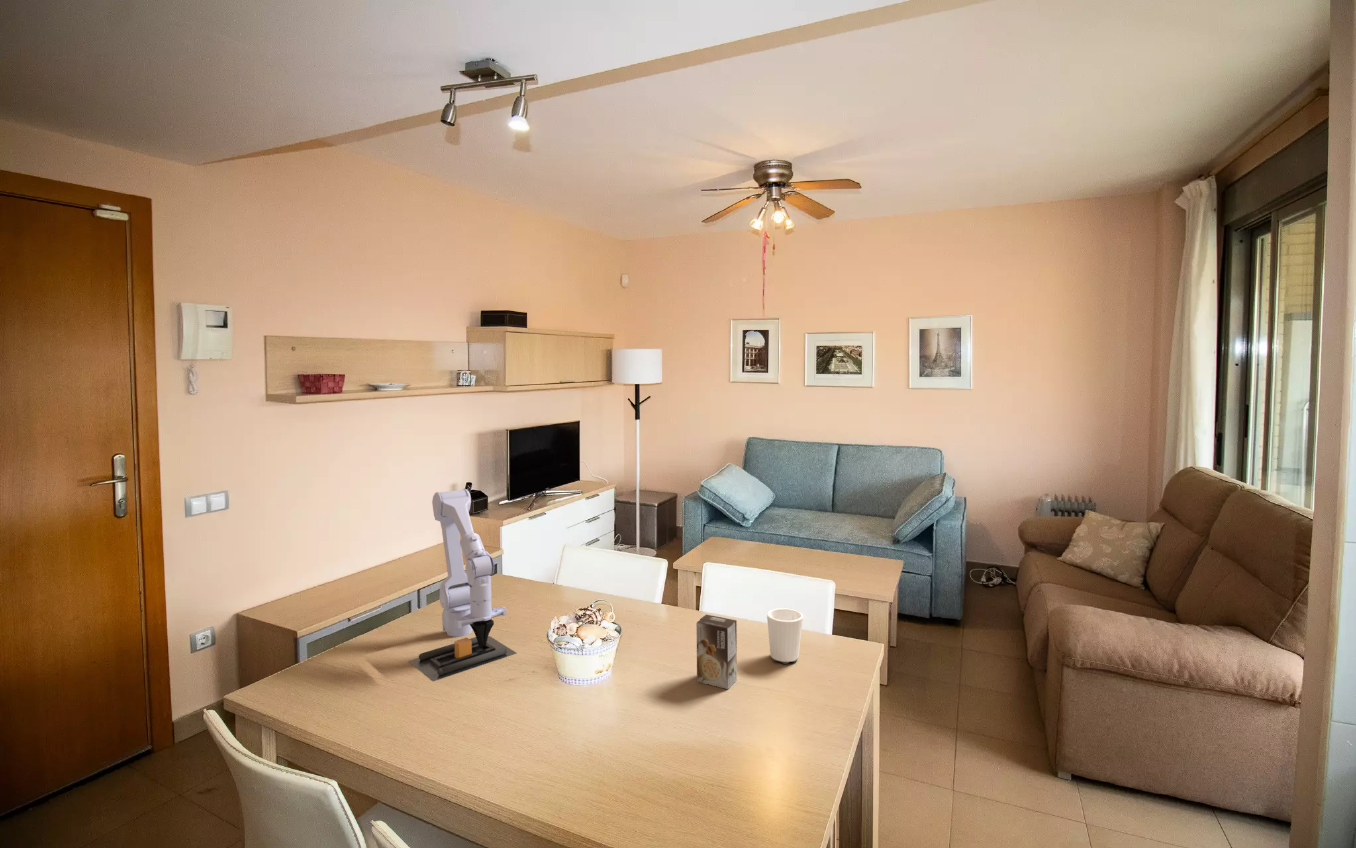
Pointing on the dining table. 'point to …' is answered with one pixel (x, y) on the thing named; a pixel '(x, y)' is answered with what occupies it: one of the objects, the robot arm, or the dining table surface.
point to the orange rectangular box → (463, 647)
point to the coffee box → (717, 651)
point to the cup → (784, 634)
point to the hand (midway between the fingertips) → (482, 645)
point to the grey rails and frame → (462, 663)
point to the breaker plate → (458, 659)
